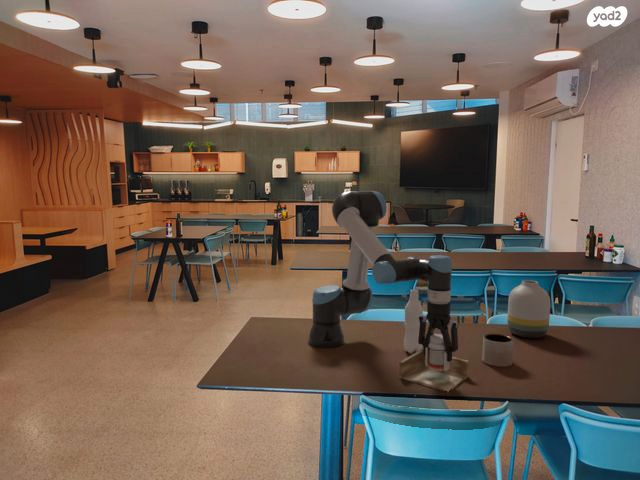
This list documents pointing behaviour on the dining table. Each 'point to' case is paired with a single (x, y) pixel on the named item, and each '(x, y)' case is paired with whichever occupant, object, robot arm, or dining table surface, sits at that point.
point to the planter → (497, 350)
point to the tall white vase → (412, 323)
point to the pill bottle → (436, 352)
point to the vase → (528, 310)
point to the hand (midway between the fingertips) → (437, 367)
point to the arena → (433, 372)
